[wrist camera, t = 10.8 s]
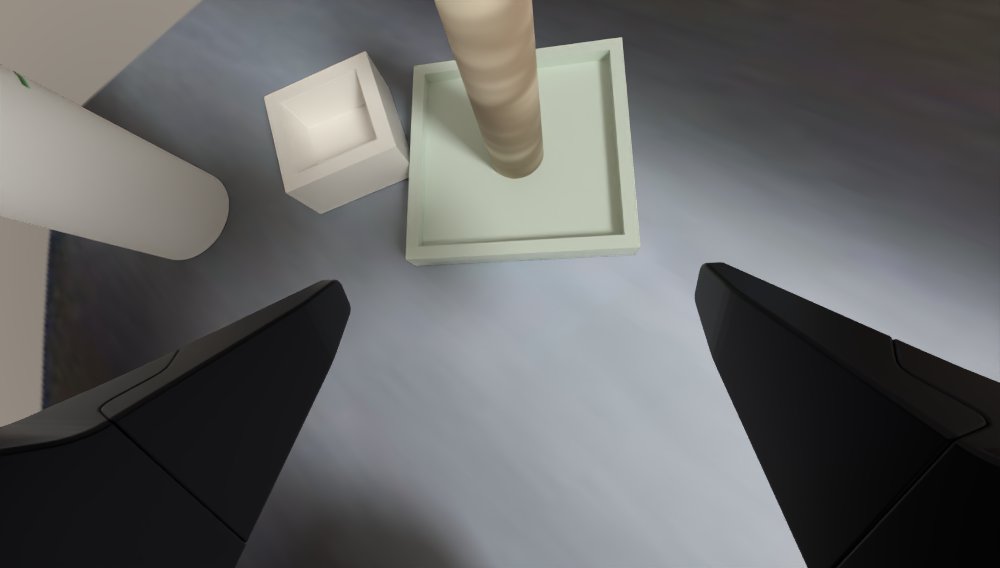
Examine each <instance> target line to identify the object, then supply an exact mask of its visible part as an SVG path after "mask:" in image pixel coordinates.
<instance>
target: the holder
mask: <svg viewBox="0 0 1000 568" xmlns="http://www.w3.org/2000/svg"><path fill="white" fill-rule="evenodd" d="M264 99H265V103H266V108H267V112H268V117H269V121H270V126H271V130H272V135H273V139H274V143H275V148H276V152H277V157H278V161H279V166H280V170H281V175H282V179H283V183H284V188H285V192H286V194H288V195H290V196H291V197H293V198H295V199H296V200H298V201H300V202H301V203H303V204H305V205H306V206H308V207H310V208H311V209H313V210H315V211H316V212H318V213H320V214H323V213H325V212H328V211H330V210H332V209H335V208H337V207H340V206H342V205H344V204H347V203H349V202H352V201H354V200H356V199H359V198H361V197H364V196H366V195H368V194H371V193H373V192H375V191H378V190H380V189H383V188H385V187H387V186H390V185H392V184H395V183H397V182H399V181H402V180H404V179H407V178H409V166H410V149H409V146H408V143H407V140H406V137H405V134H404V131H403V128H402V125H401V122H400V119H399V116H398V113H397V110H396V107H395V104H394V101H393V98H392V95H391V92H390V89H389V87H388V85H387V84H386V82H385V81H384V79H383V78H382V76H381V74H380V73H379V71H378V70H377V68H376V67H375V65H374V63H373V62H372V60H371V59H370V57H369V55H368V54H367V52H366V51H364V52H362V53H360V54H358V55H355V56H353V57H351V58H349V59H347V60H344V61H342V62H340V63H338V64H335V65H333V66H331V67H329V68H327V69H324V70H322V71H320V72H318V73H316V74H313V75H311V76H309V77H307V78H304V79H302V80H300V81H298V82H296V83H293V84H291V85H289V86H287V87H285V88H282V89H280V90H278V91H276V92H274V93H271V94H269V95H267V96H265V97H264Z"/></svg>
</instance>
